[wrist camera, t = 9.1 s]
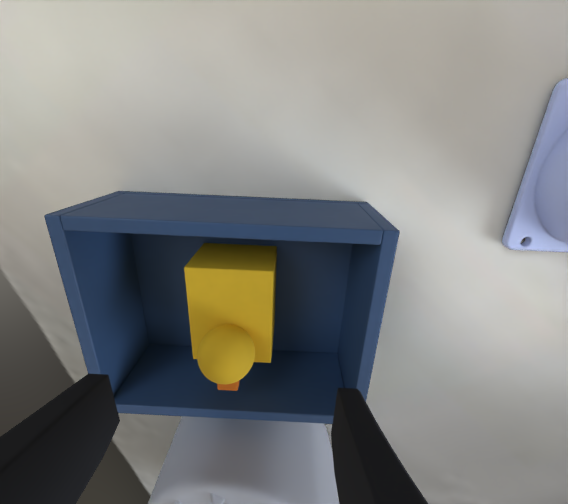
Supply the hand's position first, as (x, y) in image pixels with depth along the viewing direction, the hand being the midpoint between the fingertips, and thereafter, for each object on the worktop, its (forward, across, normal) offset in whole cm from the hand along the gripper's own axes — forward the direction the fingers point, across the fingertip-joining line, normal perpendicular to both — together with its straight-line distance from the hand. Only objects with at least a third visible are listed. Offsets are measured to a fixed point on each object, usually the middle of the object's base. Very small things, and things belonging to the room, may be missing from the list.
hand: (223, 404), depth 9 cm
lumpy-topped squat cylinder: (+9, 0, +13) cm, 16 cm away
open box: (+9, +1, 0) cm, 9 cm away
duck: (+8, +1, 0) cm, 8 cm away
